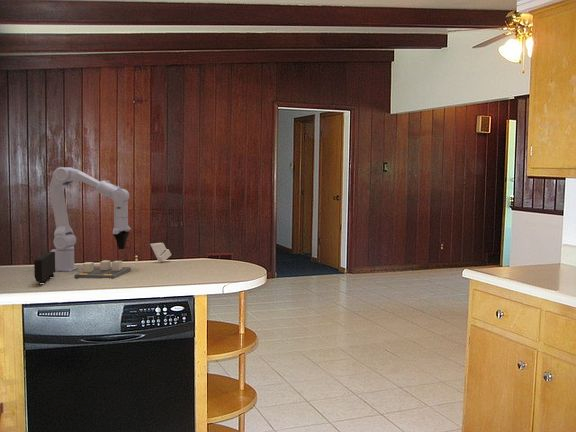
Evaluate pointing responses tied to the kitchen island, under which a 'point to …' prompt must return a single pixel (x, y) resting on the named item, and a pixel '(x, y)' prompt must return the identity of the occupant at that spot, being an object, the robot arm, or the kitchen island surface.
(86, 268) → the beige block
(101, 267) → the tab
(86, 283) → the kitchen island surface
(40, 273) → the digital display
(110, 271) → the switch bank
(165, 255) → the white angled block
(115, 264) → the cream squarish block
